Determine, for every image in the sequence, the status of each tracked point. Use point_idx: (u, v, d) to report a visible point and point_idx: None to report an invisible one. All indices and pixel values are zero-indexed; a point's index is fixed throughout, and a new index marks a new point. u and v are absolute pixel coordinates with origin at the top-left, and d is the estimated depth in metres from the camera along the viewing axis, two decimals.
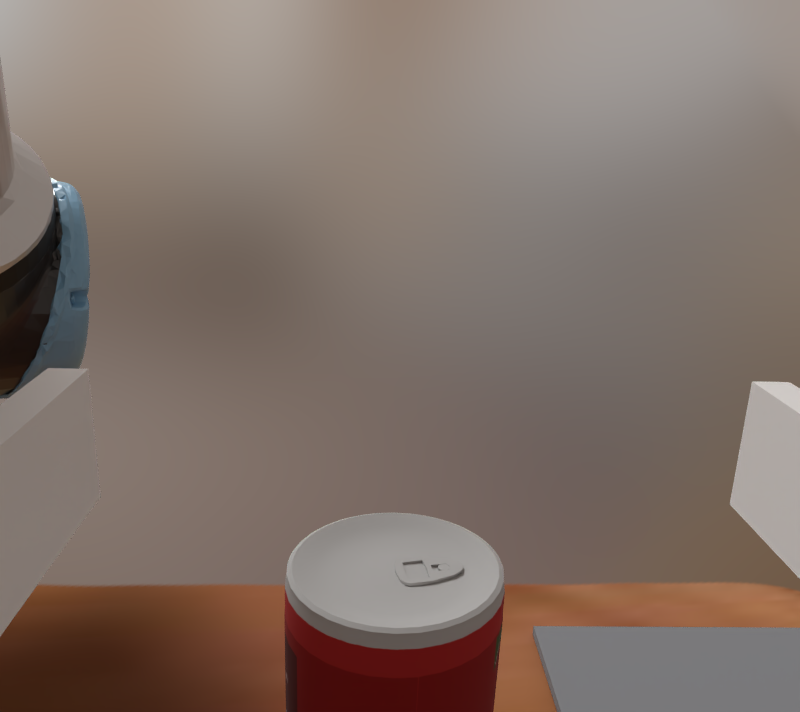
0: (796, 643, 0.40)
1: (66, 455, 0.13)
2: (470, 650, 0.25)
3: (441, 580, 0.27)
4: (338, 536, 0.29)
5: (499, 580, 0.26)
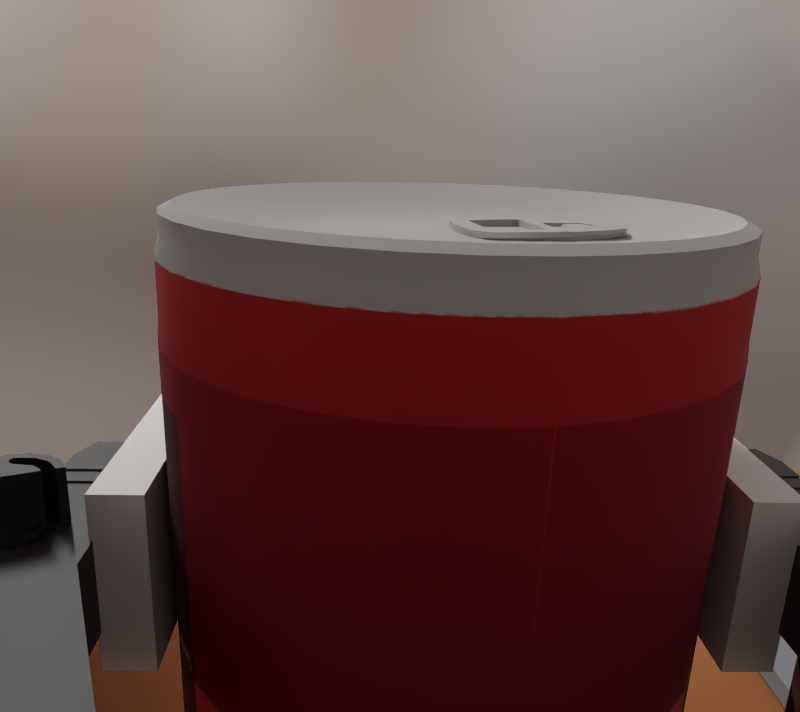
0: None
1: None
2: (706, 368, 0.08)
3: (580, 235, 0.10)
4: (309, 199, 0.12)
5: (747, 221, 0.10)
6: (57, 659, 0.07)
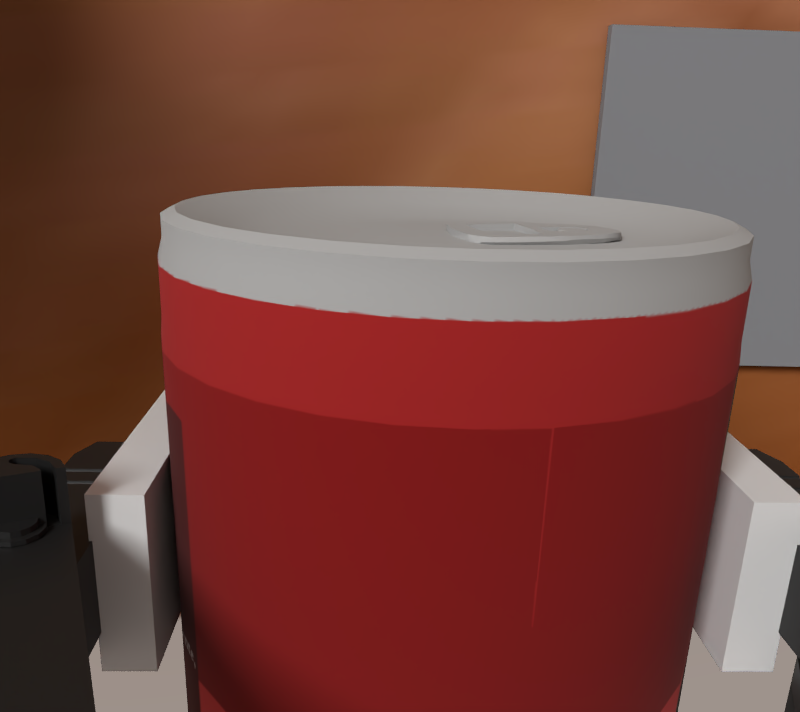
0: None
1: None
2: (699, 369, 0.08)
3: (576, 240, 0.10)
4: (309, 203, 0.12)
5: (738, 225, 0.10)
6: (57, 658, 0.07)
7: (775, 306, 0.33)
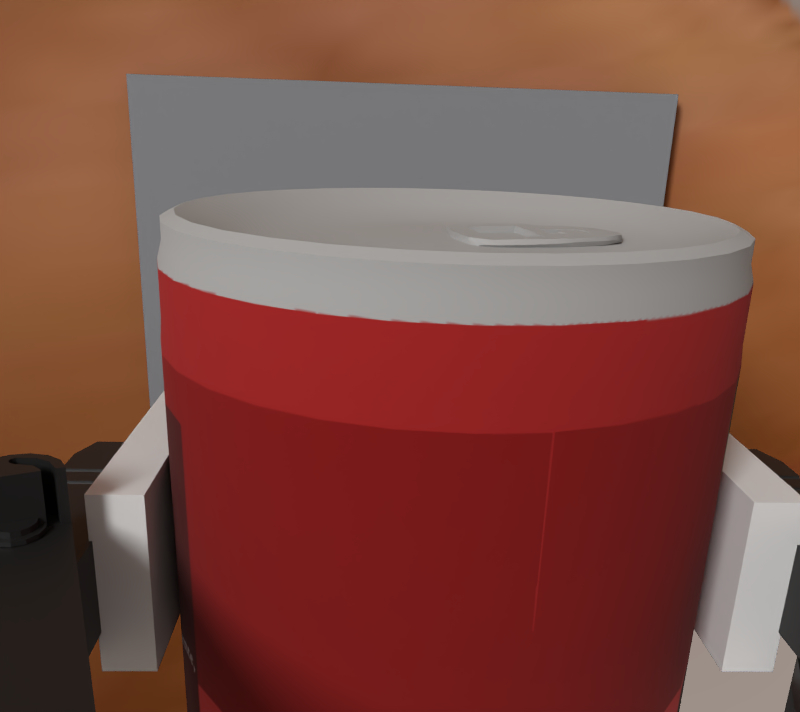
0: (602, 137, 0.22)
1: None
2: (700, 373, 0.08)
3: (576, 241, 0.10)
4: (308, 205, 0.12)
5: (740, 228, 0.10)
6: (57, 659, 0.07)
7: None
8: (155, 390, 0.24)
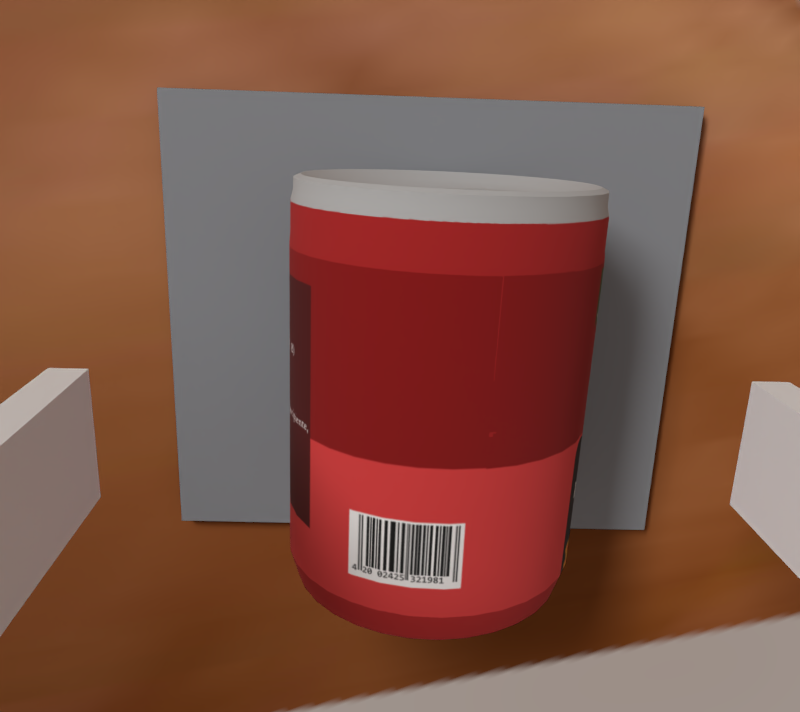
0: (627, 149, 0.22)
1: (66, 455, 0.13)
2: (575, 254, 0.17)
3: None
4: (361, 178, 0.21)
5: (604, 188, 0.18)
6: None
7: None
8: (180, 398, 0.24)
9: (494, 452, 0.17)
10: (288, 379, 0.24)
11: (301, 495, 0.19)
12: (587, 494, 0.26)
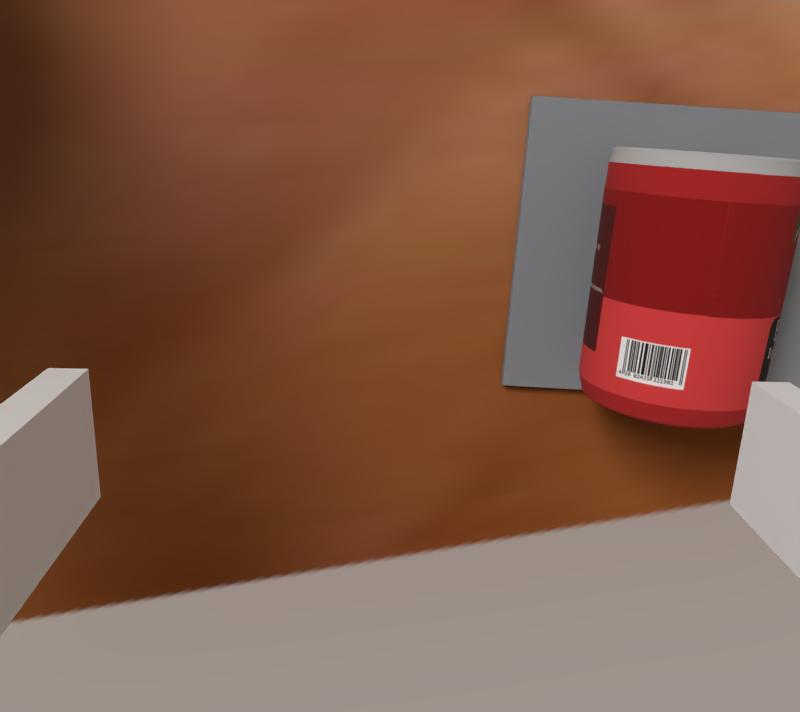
0: None
1: (66, 455, 0.13)
2: (779, 195, 0.28)
3: None
4: None
5: None
6: None
7: None
8: (515, 300, 0.37)
9: (714, 307, 0.29)
10: (587, 289, 0.37)
11: (592, 333, 0.33)
12: (775, 375, 0.38)
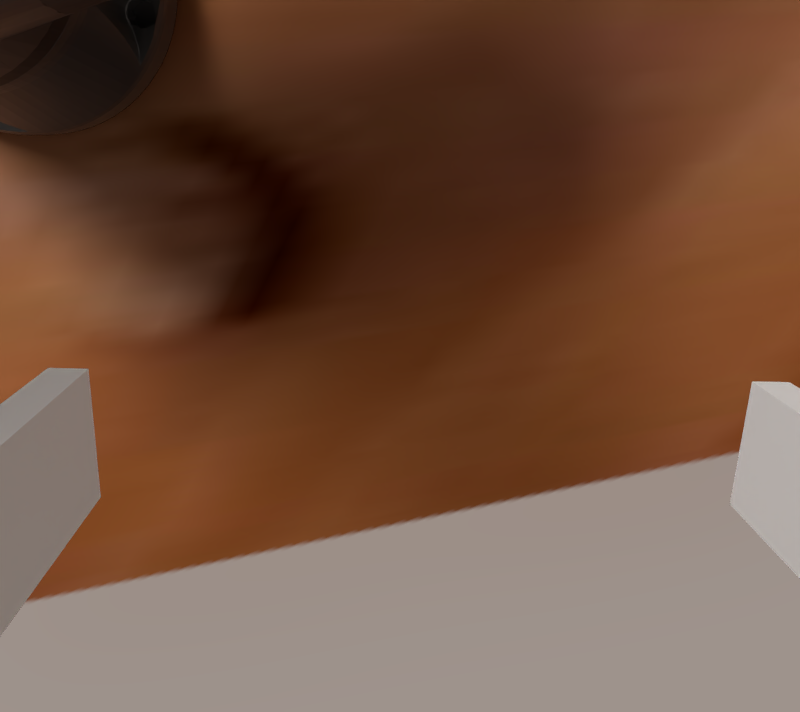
0: None
1: (66, 455, 0.13)
2: None
3: None
4: None
5: None
6: None
7: None
8: None
9: None
10: None
11: None
12: None
